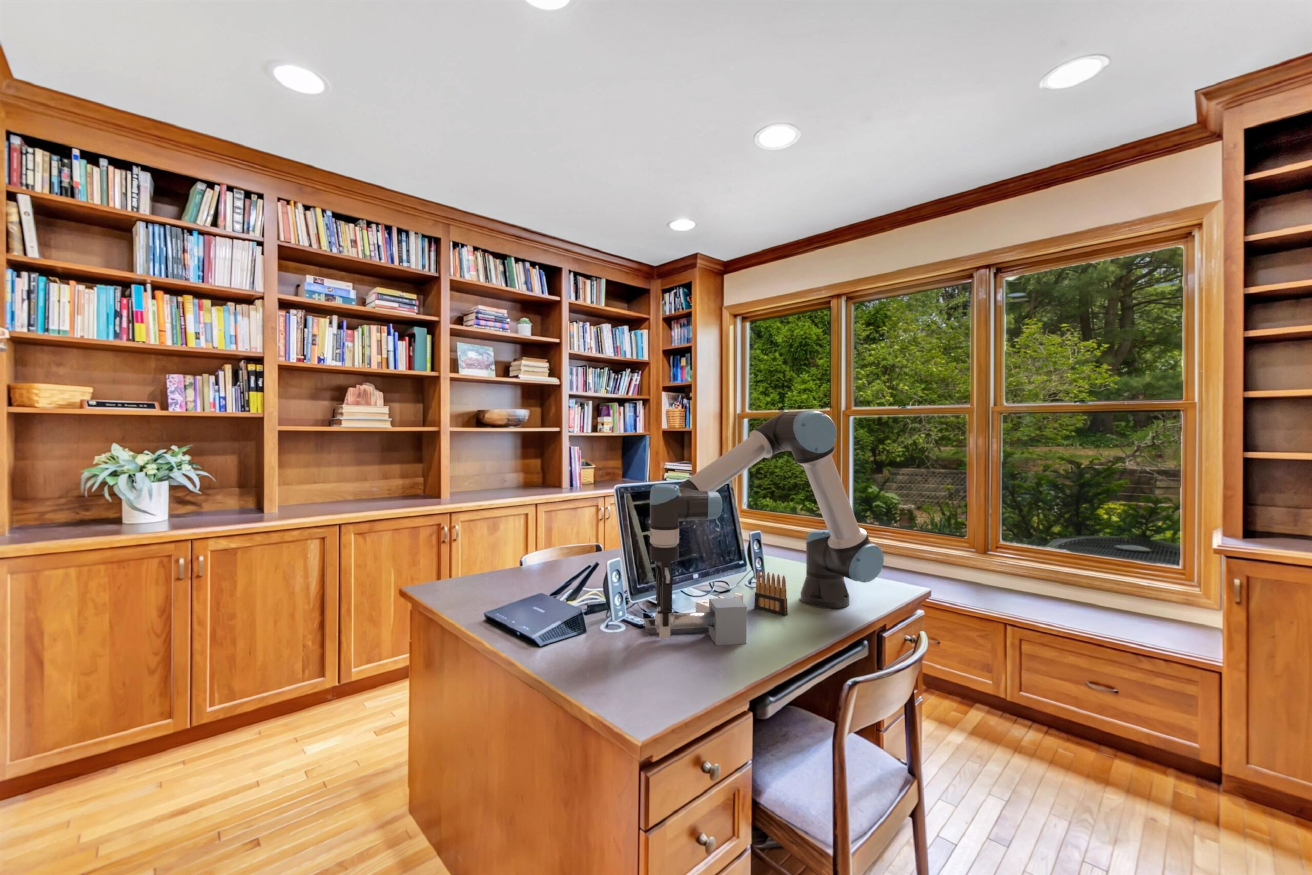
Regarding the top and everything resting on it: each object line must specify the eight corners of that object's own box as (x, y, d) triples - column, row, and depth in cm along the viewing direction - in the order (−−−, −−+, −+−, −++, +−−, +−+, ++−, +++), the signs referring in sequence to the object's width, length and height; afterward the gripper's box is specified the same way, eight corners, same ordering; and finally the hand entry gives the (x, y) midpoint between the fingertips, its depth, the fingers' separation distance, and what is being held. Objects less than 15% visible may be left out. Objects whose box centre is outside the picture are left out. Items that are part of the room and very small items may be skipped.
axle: (714, 622, 146) (715, 608, 146) (717, 629, 142) (718, 615, 142) (654, 625, 144) (655, 611, 144) (656, 632, 141) (656, 618, 140)
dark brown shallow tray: (717, 622, 157) (717, 615, 157) (724, 631, 150) (724, 624, 150) (644, 625, 154) (644, 618, 154) (647, 634, 147) (647, 627, 147)
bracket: (742, 620, 160) (743, 594, 160) (724, 625, 156) (724, 598, 156) (713, 609, 170) (713, 584, 170) (695, 613, 166) (695, 588, 166)
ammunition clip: (753, 608, 170) (754, 569, 170) (757, 607, 172) (757, 568, 172) (784, 616, 163) (784, 576, 163) (787, 615, 164) (788, 575, 164)
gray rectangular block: (737, 632, 149) (737, 597, 149) (746, 643, 141) (746, 606, 141) (708, 633, 148) (709, 598, 148) (716, 644, 140) (716, 607, 140)
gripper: (645, 538, 150) (645, 624, 150) (654, 551, 133) (653, 647, 134) (673, 538, 151) (672, 623, 151) (684, 550, 135) (683, 646, 135)
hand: (663, 634), depth 142 cm, fingers closed on axle, 4 cm apart
